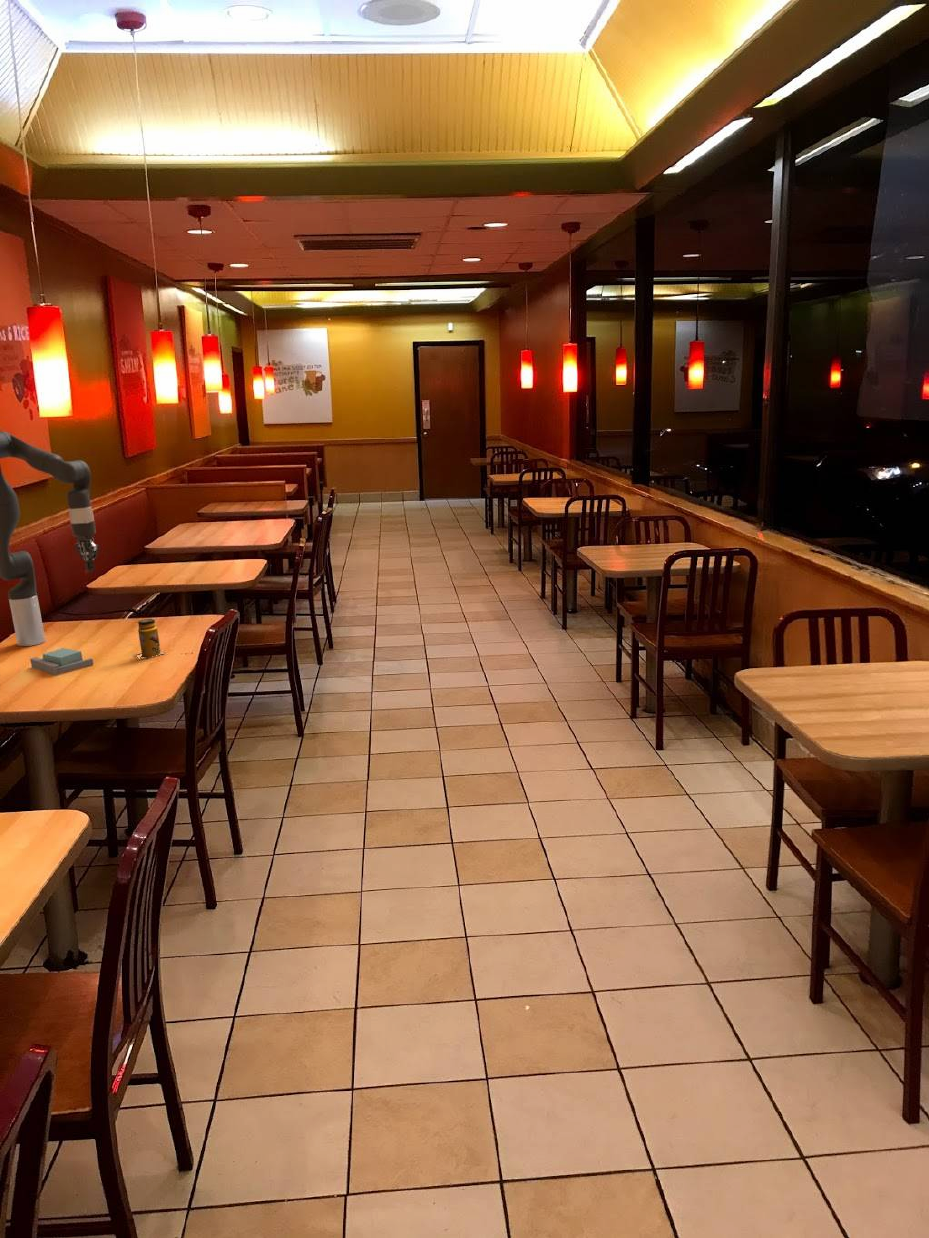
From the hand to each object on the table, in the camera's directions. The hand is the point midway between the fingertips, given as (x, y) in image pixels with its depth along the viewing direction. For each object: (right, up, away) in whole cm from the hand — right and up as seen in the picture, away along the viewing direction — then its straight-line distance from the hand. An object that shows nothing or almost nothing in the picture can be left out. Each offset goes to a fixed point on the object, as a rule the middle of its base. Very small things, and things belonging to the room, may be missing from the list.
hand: (90, 571), depth 316 cm
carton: (-3, -32, -14) cm, 35 cm away
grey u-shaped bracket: (-4, -32, -14) cm, 35 cm away
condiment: (+22, -29, -7) cm, 37 cm away
